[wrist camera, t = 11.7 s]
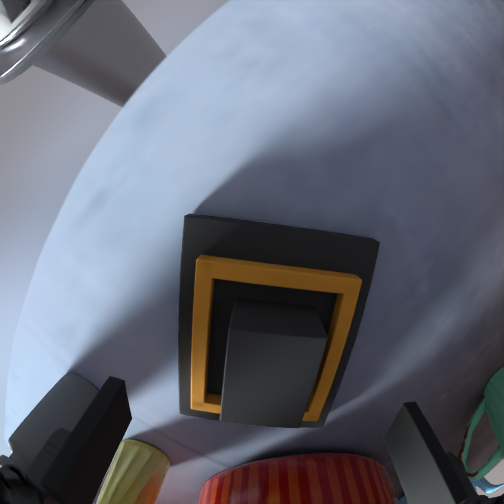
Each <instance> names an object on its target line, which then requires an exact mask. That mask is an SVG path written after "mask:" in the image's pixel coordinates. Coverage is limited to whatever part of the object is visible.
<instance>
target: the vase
mask: <svg viewBox="0 0 504 504" xmlns="http://www.w3.org/2000/svg"><path fill="white" fill-rule="evenodd" d="M169 466H170V461H169V459H168V458H167V456H166V455H165V454H164V453H163V452H161V451H160V450H158V449H157V448H155V447H154V446H152V445H149V444H147V443H144V442H141V441H138V440H130V439H128V440H123V441H122V442H121V443H120V445H119V447H118V450H117V453H116V455H115V457H114V460H113V462H112V465H111V467H110V469H109V472H108V474H107V477H106V479H105V482H104V485H103V487H102V490H101V492H100V495H99V497H98V500H97V502H96V504H155V501H156V499H157V496H158V494H159V491H160V489H161V486H162V483H163V481H164V478H165V475H166V472H167V470H168V468H169Z"/></svg>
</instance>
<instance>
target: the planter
mask: <svg viewBox="0 0 504 504" xmlns="http://www.w3.org/2000/svg"><path fill="white" fill-rule="evenodd" d="M197 504H398V501H397V498H396V495H395V492H394V489H393V486H392V484H391V481H390V478H389V475H388V473H387V470H386V469H385V468H384V466H383V465H382V464H381V463H379V462H378V461H376V460H374V459H371V458H369V457H366V456H361V455H356V454H346V453H305V454H295V455H286V456H279V457H272V458H267V459H262V460H257V461H252V462H249V463H245V464H241V465H238V466H235V467H232V468H229V469H226V470H224V471H222V472H220V473H218V474H216V475H214V476H212V477H211V478H210V479H208V480H207V481H206V482H205V483H204V484H203V485H202V487H201V489H200V493H199V497H198V502H197Z"/></svg>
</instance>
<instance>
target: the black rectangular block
mask: <svg viewBox="0 0 504 504" xmlns="http://www.w3.org/2000/svg"><path fill="white" fill-rule="evenodd" d="M327 341H328V336H327V334H326V331H325V329H324V327H323V324H322V322H321V320H320V317H319V315H318V313H317V310H316V308H315V307H314V306H304V305H295V304H285V303H276V302H268V301H260V300H252V299H244V298H235V302H234V307H233V311H232V316H231V320H230V325H229V330H228V340H227V349H226V359H225V369H224V380H223V390H222V401H221V411H220V421H221V422H228V423H236V424H244V425H254V426H267V427H283V428H299V427H300V425H301V422H302V419H303V416H304V414H305V411H306V408H307V405H308V402H309V399H310V396H311V393H312V390H313V387H314V384H315V381H316V378H317V375H318V371H319V368H320V365H321V362H322V358H323V355H324V351H325V348H326V344H327Z"/></svg>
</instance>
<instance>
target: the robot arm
mask: <svg viewBox="0 0 504 504" xmlns="http://www.w3.org/2000/svg"><path fill="white" fill-rule="evenodd" d="M55 1H56V0H0V51H1V50H3V49H5V48H7V47H8V46H10V45H11V44H12V43H14V42H15V41H16V40H17V39H19V38H20V37H21V36H22V35H23V34H24V33H25V32H26V31H28V30H29V29H30V28H31V27H32V26H33V25H34V24H35V23H36V22H37V21H38V20H39V19H40V18H41V17H42V16H43V15H44V14H45V12H46V11H47V10H48V9H49V8H50V7H51V6H52V5H53V4H54V3H55ZM131 420H132V416H131V412H130V407H129V402H128V397H127V392H126V387H125V381H124V380H122V379H118V378H115V377H112V376H109V378H108V379H107V380H106V382H105V383H104V385H103V386H102V388H101V389H100V390H99V392H98V393H97V395H96V396H95V398H94V399H93V401H92V402H91V404H90V405H89V407H88V408H87V409H86V411H85V412H84V414H83V415H82V417H81V418H80V420H79V421H78V423H77V424H76V426H75V427H74V429H73V430H72V432H71V431H69V430H66V429H64V428H62V427H61V428H59V429H57V430H56V431H54V432H53V433H52V434H51V435H50V437H49V438H48V440H47V441H46V443H45V444H44V445H43V447H42V449H41V450H40V451H39V453H38V454H37V456H36V457H35V459H34V460H33V462H32V463H31V465H30V466H29V468H28V469H27V471H26V472H25V473H24V472H23V471H22V469H21V468H20V467H18V466H16V465H14V464H5V465H3V466H1V467H0V504H92V503H93V501H94V499H95V497H96V494H97V492H98V490H99V488H100V485H101V483H102V481H103V479H104V477H105V474H106V472H107V470H108V468H109V466H110V464H111V462H112V459H113V457H114V455H115V453H116V451H117V449H118V447H119V445H120V443H121V441H122V438H123V436H124V434H125V432H126V430H127V428H128V426H129V424H130V422H131ZM383 440H384V442H385V445H386V447H387V450H388V452H389V455H390V457H391V460H392V462H393V465H394V467H395V470H396V472H397V475H398V478H399V480H400V483H401V485H402V488H403V491H404V493H405V496H406V499H407V502H408V504H504V494H502V495H501V496H498V497H493V498H488V497H487V496H485V495H478V494H477V493H476V491H475V489H474V487H473V485H472V483H471V482H470V480H469V478H468V476H467V474H466V473H465V471H464V469H463V467H461V466H462V465H461V463H460V462H459V460H458V458H457V457H456V456H455V455H454V454H452V453H451V452H448V453H445V451H444V449H443V447H442V445H441V444H440V442H439V440H438V438H437V437H436V435H435V433H434V432H433V430H432V428H431V426H430V425H429V423H428V421H427V420H426V418H425V416H424V415H423V413H422V411H421V410H420V408H419V407H418V405H417V403H416V402H408V403H403V405H402V407H401V409H400V410H399V412H398V414H397V415H396V417H395V419H394V421H393V422H392V424H391V425H390V427H389V429H388V430H387V432H386V433H385V435H384V437H383Z"/></svg>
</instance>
